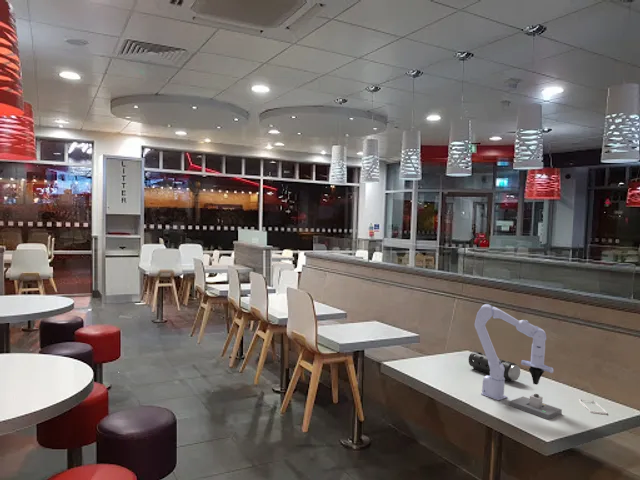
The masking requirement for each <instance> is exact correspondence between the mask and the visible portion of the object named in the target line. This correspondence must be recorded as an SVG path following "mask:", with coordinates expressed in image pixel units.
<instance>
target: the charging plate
mask: <svg viewBox="0 0 640 480" xmlns="http://www.w3.org/2000/svg"><path fill="white" fill-rule="evenodd" d="M529 401H530V397H526V396H521V397H517V398H515V399H512V400H509V404H508V405H509V406H510V407H513V408H515V409H517V410H521V411H523V412H526V413H529V414H531V415H535V416H538V417H540V418H543V419H545V420H551V419H553V418H555V417H557V416H560V415H562V411H563V409H562V408H558V407H556V406H553V405H550V404H547V403H543V402H542V408H539V409H538V408H535V407H532V406H529Z"/></svg>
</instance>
